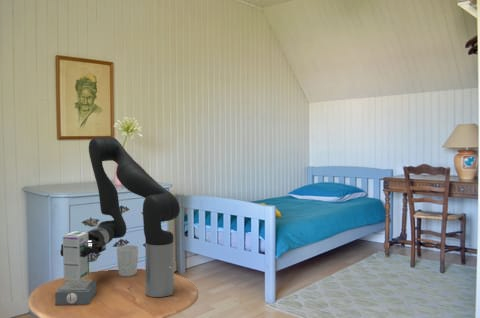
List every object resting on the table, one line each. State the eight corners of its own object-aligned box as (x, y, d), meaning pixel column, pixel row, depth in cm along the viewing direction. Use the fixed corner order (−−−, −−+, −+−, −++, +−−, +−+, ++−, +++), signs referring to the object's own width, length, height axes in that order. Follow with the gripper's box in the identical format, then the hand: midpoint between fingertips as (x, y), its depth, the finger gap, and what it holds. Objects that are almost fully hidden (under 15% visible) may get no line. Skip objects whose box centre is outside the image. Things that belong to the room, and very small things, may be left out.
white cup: (117, 271, 171) (117, 245, 170) (138, 269, 173) (138, 244, 172) (116, 277, 163) (116, 251, 162) (138, 276, 165) (138, 249, 164)
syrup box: (79, 281, 138) (79, 235, 137) (62, 279, 140) (62, 234, 138) (89, 275, 144) (89, 231, 143) (73, 273, 145) (72, 230, 144)
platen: (92, 281, 146) (92, 279, 146) (86, 290, 138) (86, 288, 138) (67, 282, 145) (67, 279, 145) (59, 290, 137) (59, 288, 137)
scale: (96, 292, 147) (96, 281, 147) (88, 305, 137) (88, 292, 137) (65, 293, 146) (65, 281, 146) (54, 305, 136) (54, 292, 136)
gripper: (75, 228, 156) (50, 240, 139) (114, 230, 154) (94, 242, 138) (75, 249, 156) (50, 264, 140) (114, 251, 155) (94, 266, 138)
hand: (72, 253), depth 139 cm, fingers closed on syrup box, 6 cm apart
